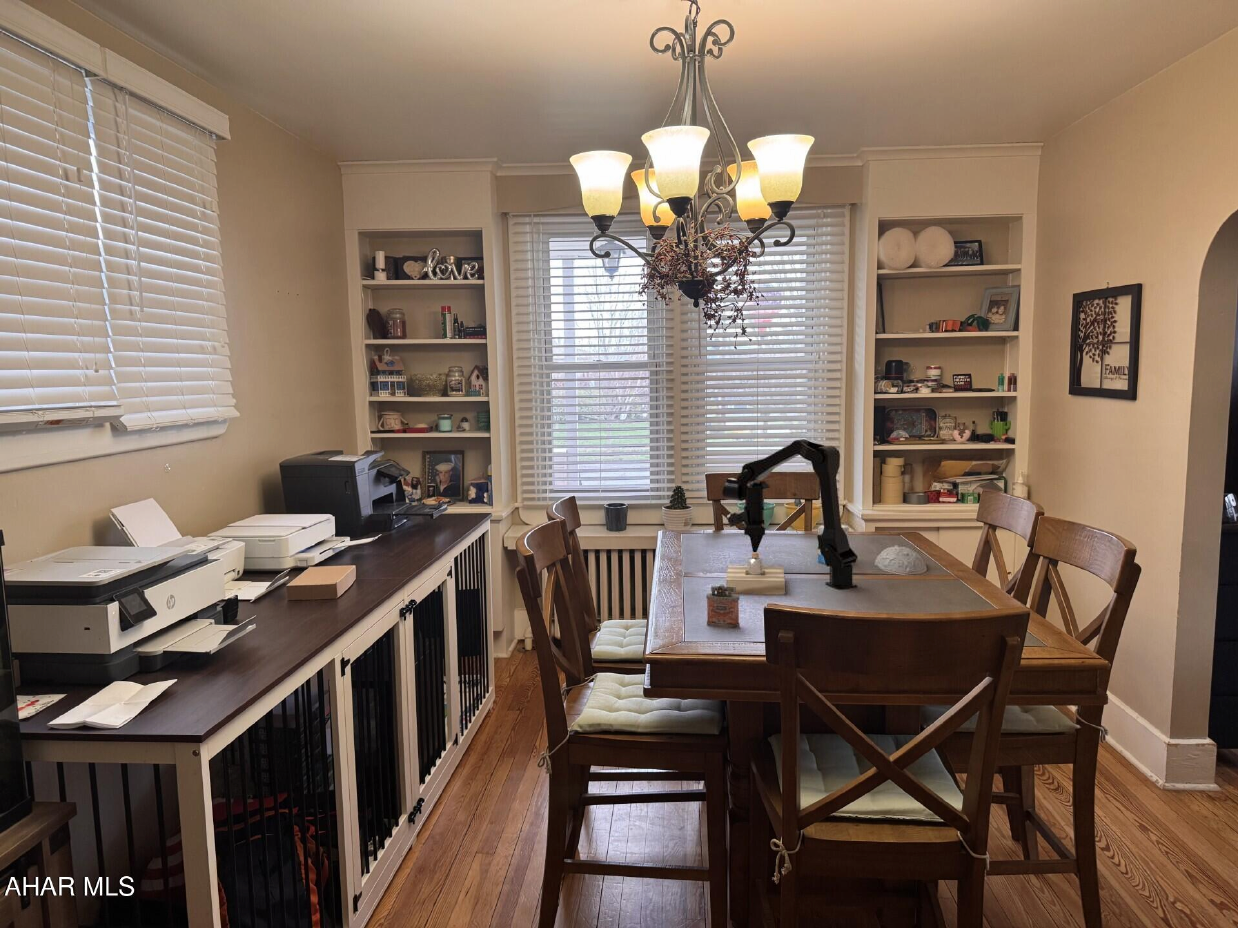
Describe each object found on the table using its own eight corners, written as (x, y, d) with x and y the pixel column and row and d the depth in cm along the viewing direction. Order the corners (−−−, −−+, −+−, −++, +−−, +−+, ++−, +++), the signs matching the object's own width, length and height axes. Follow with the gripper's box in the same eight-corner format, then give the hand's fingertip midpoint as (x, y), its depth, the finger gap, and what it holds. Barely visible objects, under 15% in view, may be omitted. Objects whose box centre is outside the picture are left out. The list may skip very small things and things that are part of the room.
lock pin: (758, 569, 229) (758, 562, 229) (751, 569, 229) (751, 562, 229) (758, 559, 241) (758, 553, 240) (752, 559, 241) (752, 553, 241)
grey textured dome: (917, 555, 258) (915, 535, 257) (937, 578, 234) (935, 556, 233) (868, 560, 260) (866, 540, 259) (883, 583, 236) (881, 561, 235)
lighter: (705, 626, 192) (704, 586, 191) (708, 622, 195) (708, 582, 194) (737, 629, 189) (737, 588, 188) (740, 624, 192) (740, 584, 191)
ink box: (827, 565, 249) (827, 528, 248) (817, 562, 254) (817, 526, 252) (849, 562, 252) (849, 525, 251) (838, 559, 257) (839, 523, 256)
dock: (784, 594, 217) (784, 580, 217) (726, 593, 220) (726, 579, 220) (782, 579, 233) (782, 566, 233) (728, 578, 236) (728, 565, 235)
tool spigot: (765, 587, 225) (765, 559, 224) (753, 588, 224) (752, 561, 223) (758, 584, 229) (758, 557, 228) (746, 585, 228) (745, 558, 227)
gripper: (728, 497, 254) (729, 545, 256) (727, 507, 236) (727, 558, 237) (764, 497, 252) (764, 545, 254) (765, 507, 234) (765, 559, 235)
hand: (754, 552), depth 245 cm, fingers closed
